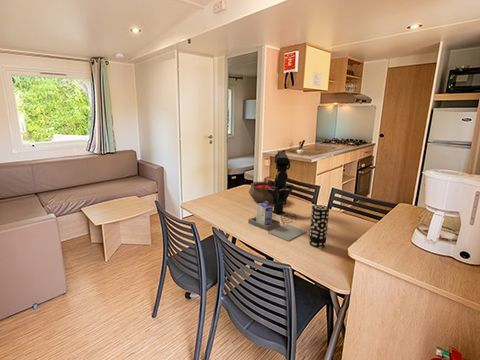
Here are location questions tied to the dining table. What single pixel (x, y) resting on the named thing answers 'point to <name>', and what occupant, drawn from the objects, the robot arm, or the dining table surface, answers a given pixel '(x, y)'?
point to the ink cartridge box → (264, 213)
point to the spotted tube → (318, 226)
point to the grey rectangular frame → (262, 226)
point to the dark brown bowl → (260, 192)
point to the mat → (287, 232)
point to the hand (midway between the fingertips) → (280, 202)
